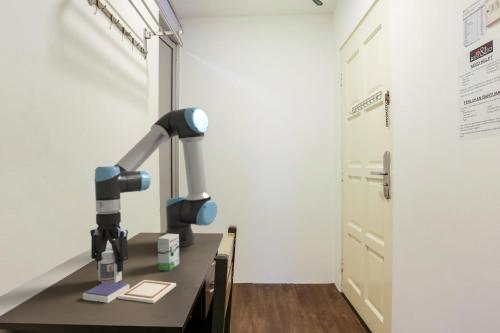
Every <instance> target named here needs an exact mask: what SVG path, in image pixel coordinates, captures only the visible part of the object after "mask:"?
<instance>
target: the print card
mask: <svg viewBox="0 0 500 333" xmlns="http://www.w3.org/2000/svg"><path fill="white" fill-rule="evenodd" d="M175 287H177V283H176V282H175V283H174V282H165V281H157V280H149V279H143V280H142V281H140V282H138V283H137V284H135V285H133V286H132V287H131V288H130V287H129V290H127V291H125V292H124V293H122V294H120V295H119V296H118V297H117V298H118V299H120V300H127V301H134V302H142V303H149V304H155V303H157V301H158V300H160V299H161V298H162V297H163V296H165V295H166V294H168V292H170V291H172V290H173V289H174V288H175Z"/></svg>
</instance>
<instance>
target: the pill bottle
mask: <svg viewBox="0 0 500 333" xmlns="http://www.w3.org/2000/svg"><path fill="white" fill-rule="evenodd" d="M102 258H103V259H102V260H101V261H100V269H101V281H100V284H102V283H104V282H106V281H108V282H114V262H116V261H115V257H114V253H113V249H110V250H105V252H102Z"/></svg>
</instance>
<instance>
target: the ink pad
mask: <svg viewBox="0 0 500 333" xmlns="http://www.w3.org/2000/svg"><path fill="white" fill-rule="evenodd" d="M129 289H130V284H128V283H126V282H125V283H123V282H108V281H106V282H104V283H100V284H98V285H96V286H94V287H93V288H90V289H89V290H86V291H85V292H84V293H82V300H85V301H92V302H98V301H99V302H101V303H105V304H108V303H110V302H112V301H113V300H115V299H117V298H118V296H119V295H120V294H122V293H124V292H125V291H127V290H129ZM116 297H117V298H116ZM99 302H98V303H99Z"/></svg>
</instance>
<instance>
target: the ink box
mask: <svg viewBox="0 0 500 333" xmlns="http://www.w3.org/2000/svg"><path fill="white" fill-rule="evenodd" d="M165 234H166V233H165ZM165 234H164V235H162V236H159V237H158V238H157V271H165V272H166V271H167V272H168V271H172V270H173V269H174V268H176V266H178V265H179V264H180V247H179V234H166V235H165Z"/></svg>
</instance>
